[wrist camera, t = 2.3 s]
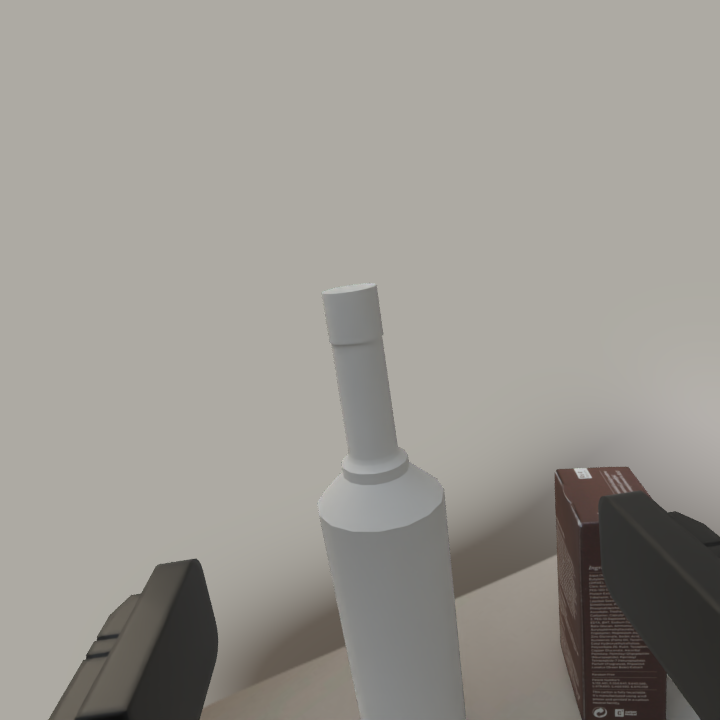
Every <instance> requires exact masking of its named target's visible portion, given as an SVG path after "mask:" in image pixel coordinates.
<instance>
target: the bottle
mask: <svg viewBox="0 0 720 720" xmlns="http://www.w3.org/2000/svg"><path fill="white" fill-rule="evenodd" d="M322 299H323V305H324V310H325V317H326V323H327V328H328V335H329V341H330V343H331V345H332V351H333V358H334V364H335V370H336V376H337V383H338V389H339V395H340V401H341V407H342V414H343V421H344V427H345V433H346V440H347V446H348V455H347V456H345V457H344V459H343V461H342V462H341V463H342V472H341V473H340V474H339V476H338V477H337V478H336V479H335V480H334V481H333V482H332V483H331V484H330V486H329V487H328V488H327V489H326V490H325V491H324V493H323V494H322V496H321V498H320V500H319V501H318V503H317V505H318V511H319V517H320V522H321V527H322V531H323V536H324V541H325V546H326V551H327V556H328V561H329V566H330V571H331V576H332V581H333V585H334V590H335V595H336V600H337V605H338V610H339V615H340V620H341V624H342V629H343V634H344V639H345V644H346V649H347V654H348V659H349V664H350V669H351V673H352V678H353V683H354V688H355V693H356V698H357V703H358V708H359V713H360V718H361V720H466V715H465V705H464V694H463V684H462V673H461V663H460V652H459V642H458V631H457V621H456V610H455V600H454V590H453V580H452V568H451V560H450V559H451V558H450V547H449V537H448V526H447V516H446V505H445V495H444V489H443V487H442V486H441V484H440V483H439V481H438V480H437V478H435V477H433V476H432V475H430V474H428V473H427V472H425V471H423V470H422V469H420V468H418V467H417V466H415V465H414V464H412V463H410V462H409V460H408V455H407V453H406V452H405V450H404V449H402V448H400V447H398V446H397V439H396V431H395V425H394V417H393V410H392V403H391V396H390V389H389V382H388V375H387V368H386V361H385V354H384V347H383V340H382V335H383V329H382V321H381V314H380V307H379V300H378V293H377V285H376V284H370V283H369V284H356V285H348V286H342V287H337V288H332V289H329V290H325V291H323V292H322Z"/></svg>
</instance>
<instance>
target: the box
mask: <svg viewBox="0 0 720 720" xmlns="http://www.w3.org/2000/svg"><path fill="white" fill-rule="evenodd" d="M638 490H639V491H643V492H644V493H646V494H647V495H648V496H649V497H650V495H649V494H648V493H647V491H646V490H645V489H644V487H643V486H642V485H641V483H640V482H639V481H638V479H637V478H636V477H635V476H634V474H633V473H632V471H631V470H630V469H629V468H628V467H600V468H574V469H558V470H556V471H555V501H556V502H555V508H556V529H557V564H558V588H559V589H558V590H559V617H560V642H561V647H562V651H563V654H564V658H565V662H566V665H567V669H568V673H569V676H570V680H571V683H572V687H573V690H574V694H575V697H576V701H577V704H578V708H579V711H580V714H581V717H582V720H666V683H667V681H666V674H667V673H666V671H665V670H664V668H663V667H662V666H661V664H660V663H659V662H658V660H657V659H656V658H655V656H654V655H653V653H652V652H651V651H650V649H649V648H648V647H647V645H646V644H645V642H644V641H643V640H642V638H641V637H640V636H639V634H638V633H637V632H636V630H635V629H634V627H633V626H632V625H631V623H630V622H629V621H628V619H627V618H626V617H625V615H624V614H623V612H622V611H621V610H620V608H619V607H618V606H617V604H616V603H615V602H614V600H613V599H612V597H611V595H610V593H609V591H608V589H607V586H606V584H605V581H604V577H603V573H602V568H601V553H600V534H599V515H598V503H599V499H600V498H601V497H602V496H606V495H613V494H619V493H626V492H632V491H638ZM650 498H651V497H650ZM651 499H652V498H651ZM652 500H653V499H652Z"/></svg>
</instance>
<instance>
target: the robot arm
mask: <svg viewBox="0 0 720 720" xmlns="http://www.w3.org/2000/svg"><path fill="white" fill-rule="evenodd" d="M598 515H599V534H600V553H601V568H602V573H603V577H604V581H605V584H606V586H607V589H608V591H609V593H610V595H611V597H612V599H613V600H614V602H615V603H616V604H617V606H618V607H619V608H620V610H621V611H622V612H623V614H624V615H625V617H626V618H627V619H628V621H629V622H630V623H631V625H632V626H633V627H634V629H635V630H636V632H637V633H638V634H639V636H640V637H641V638H642V640H643V641H644V642H645V644H646V645H647V647H648V648H649V649H650V651H651V652H652V653H653V655H654V656H655V658H656V659H657V660H658V662H659V663H660V664H661V666H662V667H663V668H664V670H665V671H666V673H667V674H668V675H669V677H670V678H671V679H672V681H673V682H674V683H675V685H676V686H677V688H678V689H679V690H680V692H681V693H682V694H683V696H684V697H685V698H686V700H687V701H688V703H689V704H690V705H691V707H692V708H693V709H694V711H695V712H696V713H697V715H698V716H699V718H700V719H701V720H720V537H719V536H718V535H717V534H715V533H714V532H713V531H712V530H710V529H709V528H708V527H707V526H706V525H704V524H703V523H701V522H698V521H696V520H694V519H691V518H689V517H687V516H685V515H683V514H681V513H678V512H669V513H667V512H666V511H665V510H664V509H663V508H662V507H660V506H659V505H658V504H657V503H656V502H655V501H654V500H652V499H651V498H650V497H649V496H648V495H647V494H646V493H644V492H643V491H639V490H638V491H632V492H626V493H619V494H613V495H606V496H602V497H601V498H600V499H599V503H598ZM217 652H218V633H217V626H216V621H215V617H214V613H213V609H212V605H211V601H210V598H209V593H208V589H207V585H206V581H205V577H204V573H203V570H202V566H201V564H200V562H199V561H198V560H197V559H190V560H184V561H178V562H171V563H165V564H159V565H157V566H156V567H155V569H154V571H153V573H152V575H151V576H150V578H149V580H148V582H147V584H146V586H145V588H144V589H143V591H142V593H141V594H136V595H131V596H130V597H129V598H128V599H127V600H126V601H125V602H123V603H122V604H121V605H120V606H119V607H118V608H117V609H116V610H115V611H114V612H113V613H112V614H111V615H110V616H109V617H108V619H107V621H106V623H105V625H104V626H103V628H102V630H101V631H100V633H99V634H98V636H97V641H95V642H94V643H93V645H92V646H91V648H90V650H89V651H88V653H87V655H86V660H83V662H82V663H81V665H80V667H79V668H78V670H77V672H76V674H75V675H74V677H73V679H72V680H71V682H70V684H69V685H68V687H67V689H66V691H65V692H64V694H63V696H62V697H61V699H60V701H59V702H58V704H57V706H56V708H55V710H54V711H53V713H52V714H51V716H50V718H49V720H199V719H200V716H201V712H202V709H203V705H204V701H205V698H206V694H207V690H208V687H209V684H210V680H211V677H212V673H213V670H214V666H215V663H216V658H217Z"/></svg>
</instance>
